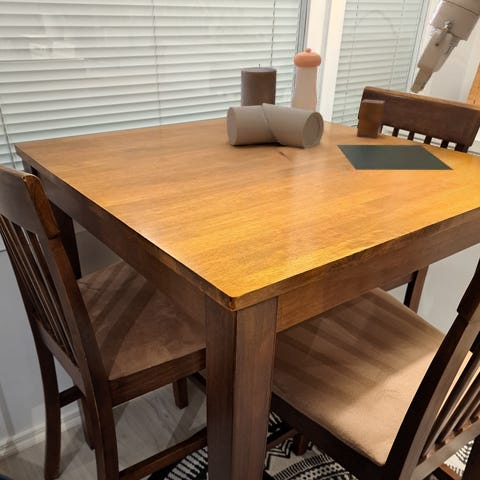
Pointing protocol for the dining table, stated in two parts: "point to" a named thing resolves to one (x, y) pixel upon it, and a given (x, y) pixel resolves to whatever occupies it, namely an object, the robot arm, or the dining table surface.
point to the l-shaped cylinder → (274, 125)
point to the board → (392, 157)
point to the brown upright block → (370, 118)
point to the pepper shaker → (306, 80)
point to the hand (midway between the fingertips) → (416, 91)
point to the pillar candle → (258, 86)
